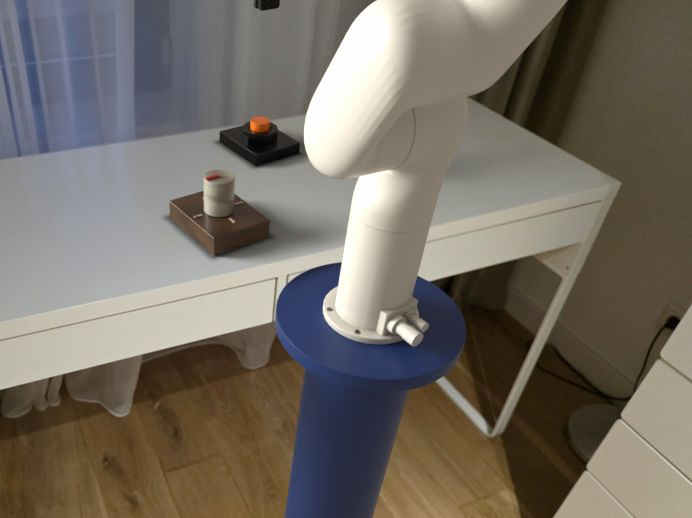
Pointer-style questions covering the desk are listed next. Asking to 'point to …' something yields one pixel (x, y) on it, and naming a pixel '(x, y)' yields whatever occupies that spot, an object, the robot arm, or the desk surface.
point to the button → (260, 124)
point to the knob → (219, 193)
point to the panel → (219, 223)
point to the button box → (259, 144)
